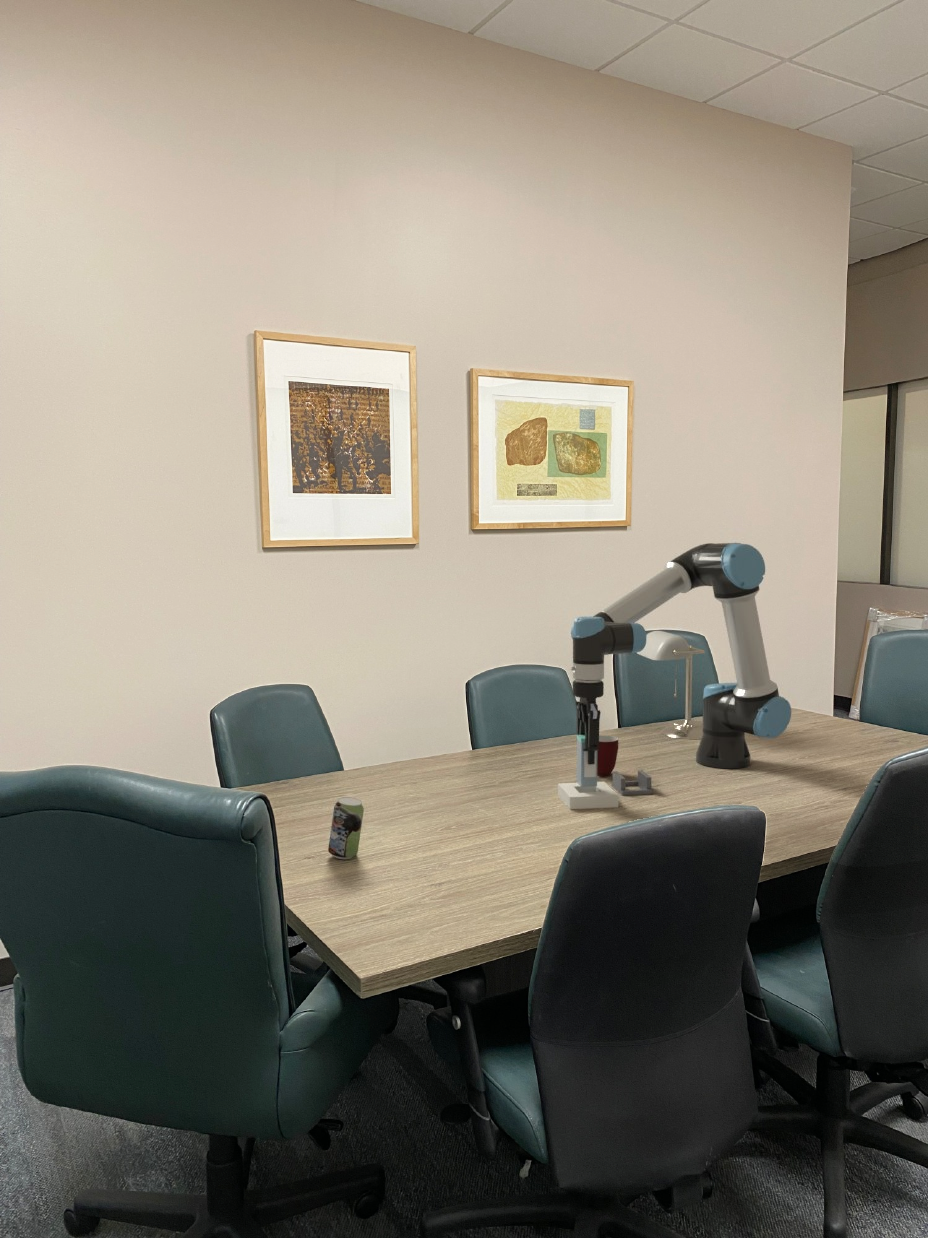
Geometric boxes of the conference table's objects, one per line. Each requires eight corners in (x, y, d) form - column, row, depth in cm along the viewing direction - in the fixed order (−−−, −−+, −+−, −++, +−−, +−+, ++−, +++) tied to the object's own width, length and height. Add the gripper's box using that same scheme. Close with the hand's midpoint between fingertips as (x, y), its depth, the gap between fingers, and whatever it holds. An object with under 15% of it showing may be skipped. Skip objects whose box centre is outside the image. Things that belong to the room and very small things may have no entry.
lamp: (631, 726, 303) (632, 629, 300) (699, 724, 306) (700, 628, 303) (656, 743, 277) (657, 637, 274) (730, 741, 280) (732, 636, 277)
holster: (640, 784, 231) (640, 769, 231) (652, 794, 222) (652, 778, 222) (611, 785, 230) (611, 770, 230) (622, 795, 221) (622, 779, 221)
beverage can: (329, 852, 182) (328, 795, 181) (364, 850, 182) (364, 794, 181) (327, 863, 176) (326, 804, 174) (364, 861, 176) (363, 803, 175)
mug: (597, 781, 234) (597, 744, 233) (575, 775, 240) (576, 739, 240) (624, 775, 240) (624, 739, 239) (602, 769, 247) (603, 734, 246)
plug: (592, 781, 218) (593, 734, 217) (597, 786, 214) (598, 738, 213) (576, 782, 218) (576, 735, 217) (580, 787, 213) (581, 738, 212)
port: (603, 793, 223) (603, 781, 223) (618, 807, 211) (618, 795, 211) (557, 795, 221) (557, 783, 221) (569, 809, 210) (569, 797, 209)
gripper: (564, 675, 222) (563, 766, 224) (582, 686, 205) (581, 784, 207) (593, 674, 223) (592, 765, 225) (613, 685, 206) (612, 782, 208)
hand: (587, 774), depth 216 cm, fingers closed on plug, 4 cm apart
